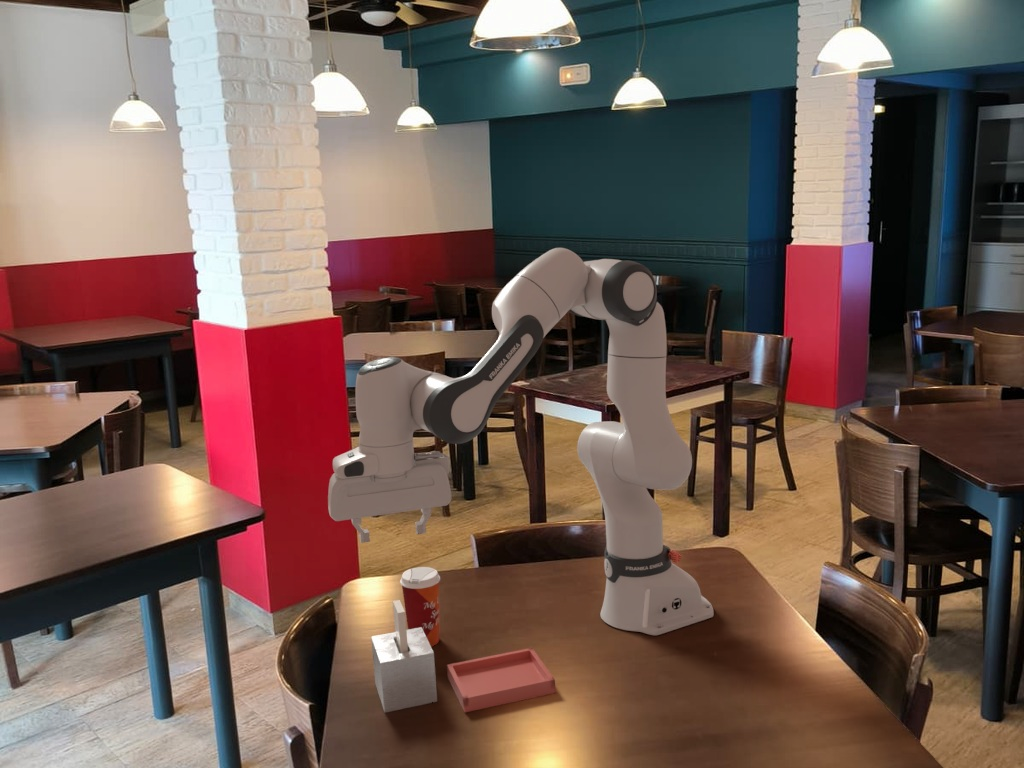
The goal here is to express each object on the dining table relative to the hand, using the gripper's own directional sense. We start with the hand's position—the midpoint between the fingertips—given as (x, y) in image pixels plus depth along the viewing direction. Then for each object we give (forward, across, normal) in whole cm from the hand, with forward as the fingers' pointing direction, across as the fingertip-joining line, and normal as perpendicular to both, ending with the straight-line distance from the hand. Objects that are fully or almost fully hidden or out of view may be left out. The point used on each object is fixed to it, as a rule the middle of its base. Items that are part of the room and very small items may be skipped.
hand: (393, 537), depth 149 cm
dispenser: (+28, 0, 0) cm, 28 cm away
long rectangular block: (+24, 0, 0) cm, 24 cm away
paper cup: (+29, -7, -17) cm, 34 cm away
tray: (+28, -16, +4) cm, 33 cm away
